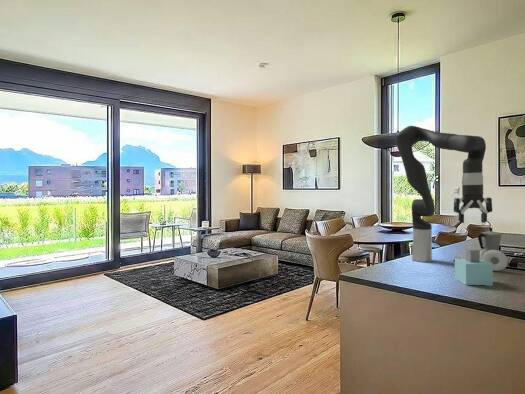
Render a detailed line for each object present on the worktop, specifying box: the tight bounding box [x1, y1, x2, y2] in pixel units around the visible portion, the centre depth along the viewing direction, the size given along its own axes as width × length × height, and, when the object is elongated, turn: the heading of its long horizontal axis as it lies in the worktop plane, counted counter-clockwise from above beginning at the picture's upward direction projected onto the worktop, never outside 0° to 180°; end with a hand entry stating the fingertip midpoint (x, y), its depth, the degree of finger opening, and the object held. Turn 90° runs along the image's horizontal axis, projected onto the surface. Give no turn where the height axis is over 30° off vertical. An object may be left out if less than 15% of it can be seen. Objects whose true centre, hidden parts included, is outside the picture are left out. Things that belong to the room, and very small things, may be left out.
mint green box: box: [454, 248, 494, 287], centre depth 146 cm, size 10×10×14 cm
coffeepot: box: [477, 227, 503, 264], centre depth 181 cm, size 15×9×18 cm, turn 110°
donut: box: [482, 250, 508, 272], centre depth 164 cm, size 10×4×10 cm, turn 50°
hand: (472, 222), depth 146 cm, fingers open, 8 cm apart
